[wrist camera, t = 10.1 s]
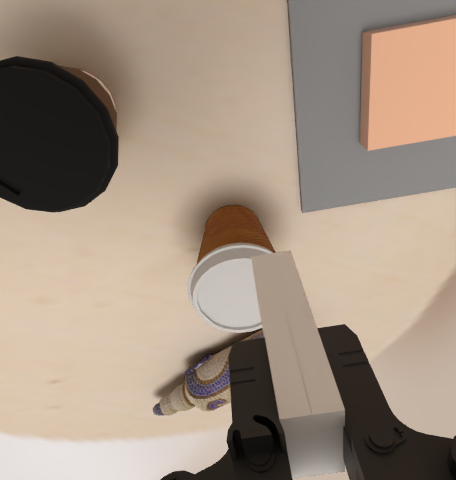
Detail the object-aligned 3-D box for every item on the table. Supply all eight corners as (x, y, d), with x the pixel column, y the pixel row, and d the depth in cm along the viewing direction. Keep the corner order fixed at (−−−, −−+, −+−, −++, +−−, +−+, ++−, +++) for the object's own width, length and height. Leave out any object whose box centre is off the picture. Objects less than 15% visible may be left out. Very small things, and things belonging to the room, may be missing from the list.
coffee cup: (98, 182, 40) (62, 243, 30) (-3, 109, 36) (-84, 153, 26) (163, 102, 36) (147, 142, 26) (59, 10, 32) (-8, 16, 22)
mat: (283, -54, 31) (285, -54, 30) (513, -98, 30) (519, -100, 29) (301, 210, 43) (302, 212, 43) (463, 183, 43) (466, 185, 42)
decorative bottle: (287, 300, 51) (298, 338, 45) (314, 332, 54) (327, 371, 49) (138, 380, 57) (131, 421, 52) (170, 404, 61) (167, 445, 55)
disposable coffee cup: (290, 216, 44) (316, 282, 34) (244, 274, 48) (254, 349, 38) (219, 176, 41) (224, 235, 31) (176, 241, 45) (167, 312, 35)
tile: (371, 33, 31) (483, 13, 31) (361, 31, 34) (465, 12, 33) (367, 150, 37) (463, 134, 36) (358, 142, 39) (448, 127, 38)
